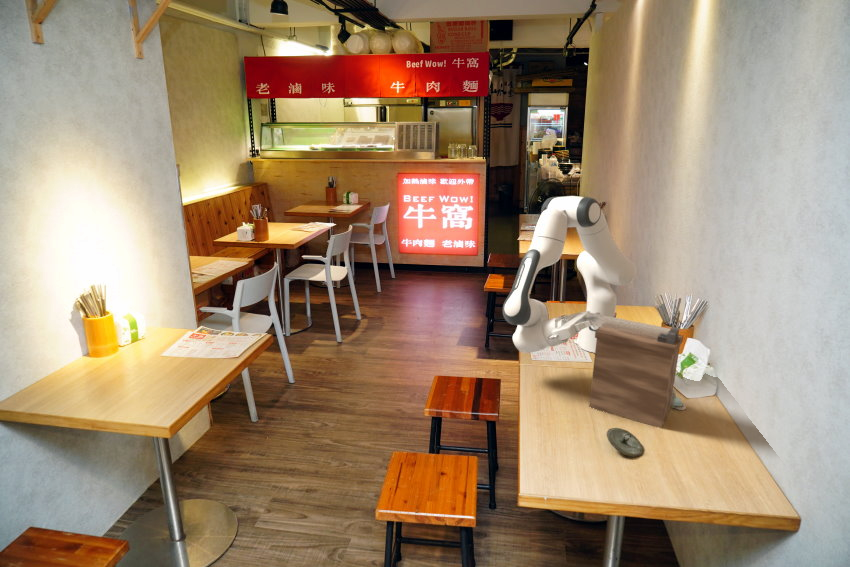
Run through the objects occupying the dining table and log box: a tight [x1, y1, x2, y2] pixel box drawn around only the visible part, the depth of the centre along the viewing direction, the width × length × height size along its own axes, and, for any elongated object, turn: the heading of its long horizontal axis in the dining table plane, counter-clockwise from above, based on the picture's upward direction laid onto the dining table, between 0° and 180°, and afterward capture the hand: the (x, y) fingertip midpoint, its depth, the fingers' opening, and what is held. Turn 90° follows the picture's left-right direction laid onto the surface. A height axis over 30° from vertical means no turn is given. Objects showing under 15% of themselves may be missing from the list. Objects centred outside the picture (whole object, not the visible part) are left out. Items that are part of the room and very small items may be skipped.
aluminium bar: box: [585, 312, 671, 339], centre depth 179 cm, size 3×25×3 cm, turn 57°
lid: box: [606, 427, 644, 458], centre depth 162 cm, size 11×10×5 cm
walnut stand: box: [588, 326, 684, 429], centre depth 180 cm, size 13×23×29 cm, turn 57°
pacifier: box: [670, 387, 687, 411], centre depth 187 cm, size 7×6×6 cm
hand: (595, 318), depth 184 cm, fingers open, 8 cm apart
